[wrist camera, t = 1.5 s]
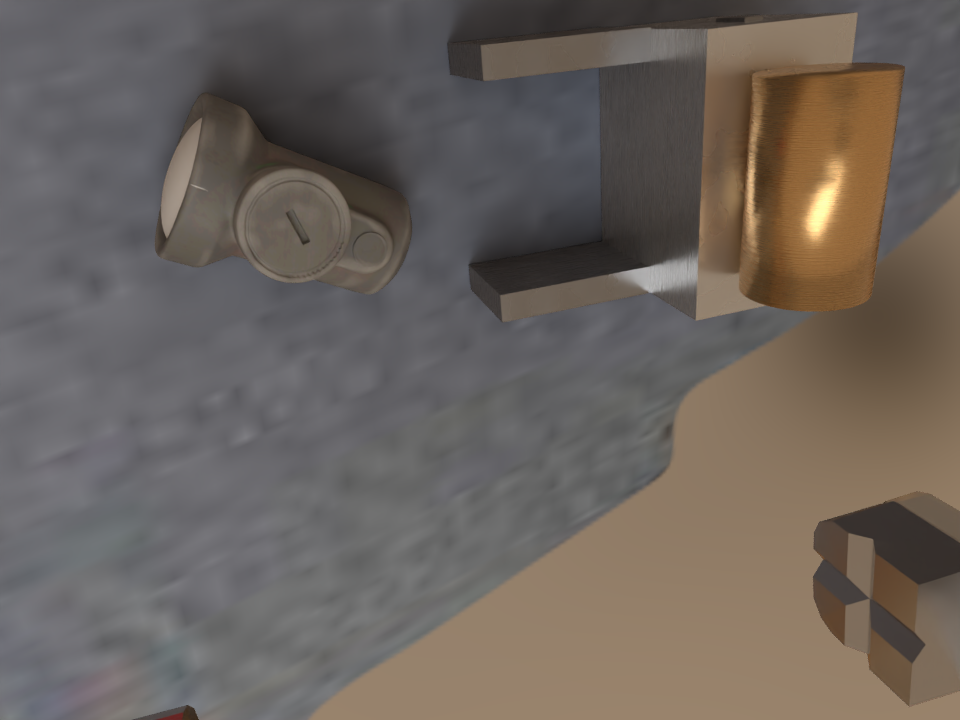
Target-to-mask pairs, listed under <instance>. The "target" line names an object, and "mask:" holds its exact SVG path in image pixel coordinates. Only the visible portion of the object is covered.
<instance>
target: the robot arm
mask: <svg viewBox="0 0 960 720" xmlns="http://www.w3.org/2000/svg"><path fill="white" fill-rule="evenodd" d="M814 550H815V551H816V552H817V553H818V554H819V555H820V556H821V558H822V559H823V561H822V563H821V564H820V566H819V567H818V569H817V571H816V573H815V574H814V576H813V591H814V600H815V603H816V605H817V608H818V611H819V613H820V616H821V618H822V620H823V621H824V623H825V624H826V625H827V627H828V629H829V630H830V631H831V632H832V634H833V635H834V636H835V637H836V638H837V639H838V640H839V641H840V642H841V643H842V644H843V645H845V646H847V647H850V648H853V649H855V650H858V651H861V652H864V653H866V654H867V655H868V662H869V669H870V670H871V671H872V672H873V673H874V674H875V675H876V676H877V677H878V678H879V679H880V680H881V681H882V682H883V683H884V684H885V685H887V686H888V687H889V688H890V689H891V690H892V691H893V692H894V693H895V694H896V695H897V696H898V697H899V698H900V699H901V700H902V701H904V702H905V703H906V704H907V705H908V706H909V707H911V706H914V705H917V704H920V703H923V702H927V701H930V700H933V699H936V698H939V697H943V696H946V695H949V694H952V693H955V692H958V691H960V511H959V510H957V509H955V508H953V507H952V506H950V505H948V504H947V503H945V502H943V501H942V500H940V499H938V498H936V497H935V496H933V495H931V494H928V493H924V492H913V493H910V494H907V495H904V496H900V497H897V498H894V499H891V500H888V501H885V502H884V503H883V504H878V505H875V506H871V507H868V508H865V509H861V510H858V511H855V512H851V513H848V514H845V515H841V516H838V517H834V518H831V519H827V520H824V521H821V522H819V523H818V525H817V527H816V530H815V532H814ZM133 720H199V719H198V716H197V714H196V711H195V709H194V708H193V707H191V706H189V705H186V706H182V707H178V708H175V709H171V710H167V711H163V712H160V713H156V714H152V715H148V716H145V717H141V718H137V719H133Z"/></svg>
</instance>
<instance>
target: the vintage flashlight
mask: <svg viewBox="0 0 960 720" xmlns="http://www.w3.org/2000/svg"><path fill="white" fill-rule="evenodd" d="M411 234H412V221H411V215H410V211H409V206H408V203H407V200H406V198H405V197H404V196H403V195H402V194H401V193H399V192H398V191H395V190H393V189H391V188H388V187H386V186H384V185H381V184H379V183H376V182H373V181H371V180H368V179H365V178H363V177H360V176H358V175H355V174H352V173H350V172H347V171H344V170H342V169H339V168H336V167H334V166H331V165H328V164H326V163H323V162H320V161H318V160H315V159H312V158H310V157H307V156H304V155H302V154H299V153H296V152H294V151H291V150H288V149H286V148H283V147H280V146H278V145H275V144H273V143H270V142H268V141H266V140H265V138H264V137H263V135H262V134H261V132H260V131H259V129H258V128H257V126H256V124H255V123H254V121H253V120H252V118H251V117H250V115H249V114H248V112H247V111H246V110H245V109H244V108H242V107H240V106H238V105H236V104H233V103H231V102H228V101H226V100H224V99H221V98H219V97H217V96H214V95H212V94H209V93H203V94H201V95H200V96H199V97H198V99H197V101H196V102H195V104H194V105H193V107H192V109H191V112H190V114H189V116H188V118H187V121H186V123H185V126H184V128H183V131H182V133H181V136H180V139H179V142H178V145H177V148H176V150H175V153H174V155H173V157H172V159H171V162H170V165H169V168H168V171H167V174H166V178H165V182H164V186H163V192H162V201H161V208H160V212H159V218H158V223H157V229H156V236H155V250H156V253H157V255H158V256H159V257H160V258H163V259H166V260H169V261H173V262H177V263H181V264H185V265H188V266H192V267H203V266H205V265H208V264H211V263H213V262H216V261H219V260H221V259H224V258H226V257H229V256H232V255H233V256H237V257H241V258H244V259H247V260H248V261H249V262H250V263H251V264H252V265H253V266H254V267H255V268H256V269H257V270H258V271H259V272H261V273H262V274H264V275H266V276H268V277H270V278H272V279H274V280H277V281H281V282H287V283H301V282H307V281H311V280H317V281H321V282H324V283H328V284H331V285H334V286H337V287H341V288H344V289H348V290H351V291H355V292H359V293H363V294H373V293H375V292H377V291H379V290H381V289H382V288H383V287H385V286H386V285H387V284H388V283H389V282H390V281H391V280H392V279H393V278H394V276H395V275H396V274H397V272H398V271H399V269H400V267H401V265H402V263H403V261H404V259H405V256H406V254H407V251H408V248H409V244H410V240H411Z"/></svg>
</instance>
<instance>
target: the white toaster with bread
mask: <svg viewBox="0 0 960 720" xmlns="http://www.w3.org/2000/svg"><path fill="white" fill-rule="evenodd" d="M857 14H858V13H822V14H783V15H744V16H717V17H708V18H698V19H689V20H680V21H670V22H661V23H651V24H642V25H633V26H623V27H596V28H586V29H577V30H567V31H558V32H549V33H539V34H530V35H520V36H511V37H501V38H492V39H482V40H473V41H463V42H454V43H447V44H448V54H449V65H450V75H455V76H460V77H465V78H470V79H475V80H480V81H489V80H498V79H506V78H515V77H523V76H531V75H540V74H548V73H556V72H565V71H573V70H581V69H590V68H598V67H600V130H601V195H602V241H599V242H594V243H588V244H582V245H577V246H571V247H566V248H560V249H555V250H549V251H544V252H538V253H533V254H527V255H521V256H516V257H510V258H505V259H499V260H494V261H488V262H483V263H477V264H472V265H469V274H470V285H471V290H472V291H473V292H474V293H475V294H476V295H477V296H478V297H479V298H480V300H481V301H482V302H483V303H484V304H485V305H486V306H487V307H488V308H489V309H490V310H491V311H492V312H493V313H494V314H495V315H496V316H497V317H498V318H499V319H500V320H501V322H507V321H512V320H517V319H522V318H527V317H532V316H537V315H542V314H547V313H552V312H557V311H562V310H567V309H572V308H577V307H581V306H586V305H591V304H596V303H601V302H606V301H611V300H616V299H621V298H626V297H631V296H636V295H641V294H646V293H648V292H650V293H652V294H653V295H655V296H657V297H658V298H660V299H661V300H663V301H665V302H666V303H668V304H670V305H671V306H673V307H674V308H676V309H678V310H679V311H681V312H683V313H684V314H686V315H687V316H689V317H691V318H692V319H694V320H701V319H706V318H710V317H715V316H720V315H724V314H729V313H734V312H738V311H743V310H748V309H752V308H757V307H762V306H766V305H767V306H770V307H775V308H780V309H786V310H795V311H832V310H841V309H846V308H850V307H854V306H857V305H860V304H862V303H864V302H866V301H867V300H868V299H869V298H870V297H871V295H872V289H873V282H874V275H875V269H876V262H877V255H878V248H879V241H880V235H881V228H882V221H883V214H884V208H885V201H886V194H887V187H888V180H889V174H890V167H891V160H892V153H893V147H894V140H895V133H896V126H897V119H898V113H899V106H900V99H901V92H902V86H903V79H904V72H905V66H903V65H898V64H889V63H852V56H853V48H854V39H855V31H856V23H857Z"/></svg>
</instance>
